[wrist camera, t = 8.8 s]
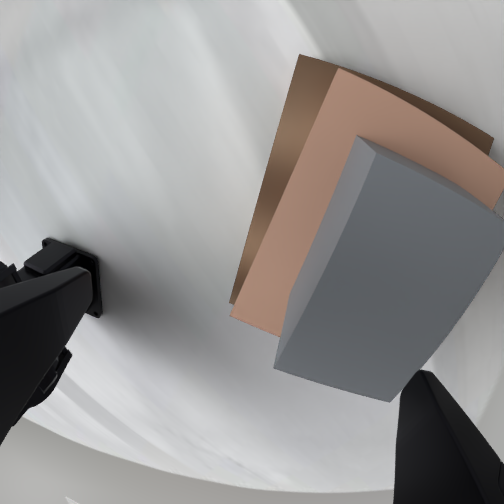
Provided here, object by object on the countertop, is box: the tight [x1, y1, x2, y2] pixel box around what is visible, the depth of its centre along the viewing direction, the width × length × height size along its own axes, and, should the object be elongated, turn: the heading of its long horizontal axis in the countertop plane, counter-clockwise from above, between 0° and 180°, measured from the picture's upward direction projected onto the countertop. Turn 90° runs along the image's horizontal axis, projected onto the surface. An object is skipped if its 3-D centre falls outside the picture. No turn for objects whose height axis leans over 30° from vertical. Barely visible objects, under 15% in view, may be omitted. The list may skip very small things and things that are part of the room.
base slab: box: [229, 54, 494, 304], centre depth 18 cm, size 15×11×3 cm
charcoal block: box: [274, 135, 504, 402], centre depth 11 cm, size 8×5×5 cm, turn 163°
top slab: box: [230, 68, 504, 337], centre depth 15 cm, size 13×9×3 cm
